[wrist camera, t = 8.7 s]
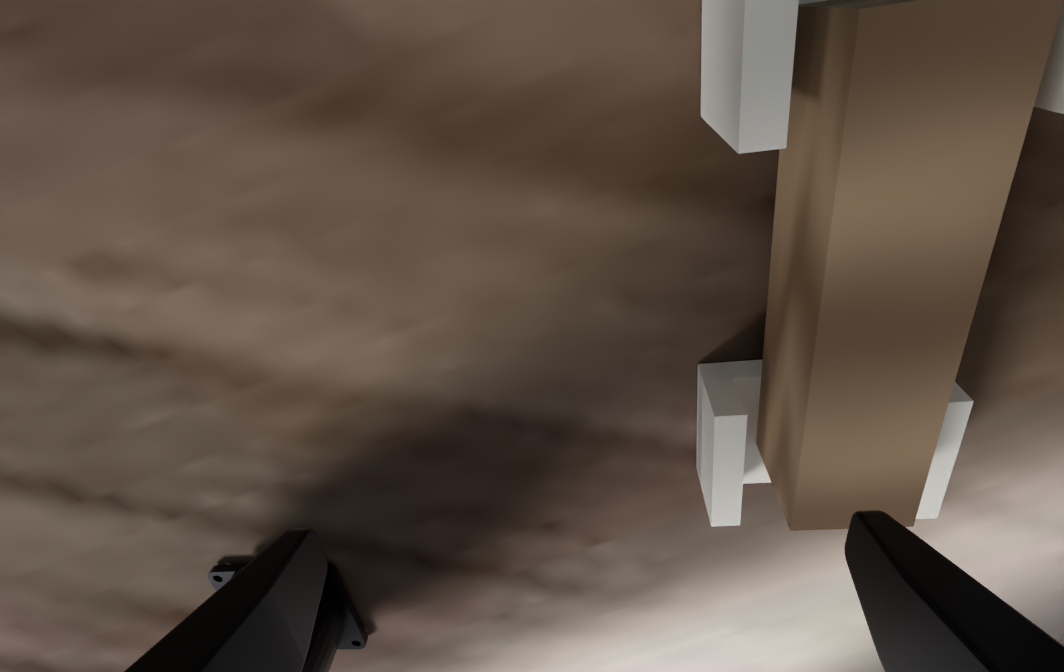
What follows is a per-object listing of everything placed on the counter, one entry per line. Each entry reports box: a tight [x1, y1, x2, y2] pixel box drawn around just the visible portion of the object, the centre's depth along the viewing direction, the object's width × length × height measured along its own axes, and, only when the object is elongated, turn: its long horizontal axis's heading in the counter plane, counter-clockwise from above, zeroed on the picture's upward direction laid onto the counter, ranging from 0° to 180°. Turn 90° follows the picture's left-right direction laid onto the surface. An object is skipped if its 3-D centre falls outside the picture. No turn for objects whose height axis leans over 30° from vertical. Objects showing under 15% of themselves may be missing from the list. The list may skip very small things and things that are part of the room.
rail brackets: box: [696, 0, 1064, 526], centre depth 15 cm, size 20×8×6 cm, turn 8°
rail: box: [756, 0, 1064, 531], centre depth 16 cm, size 14×4×4 cm, turn 8°
